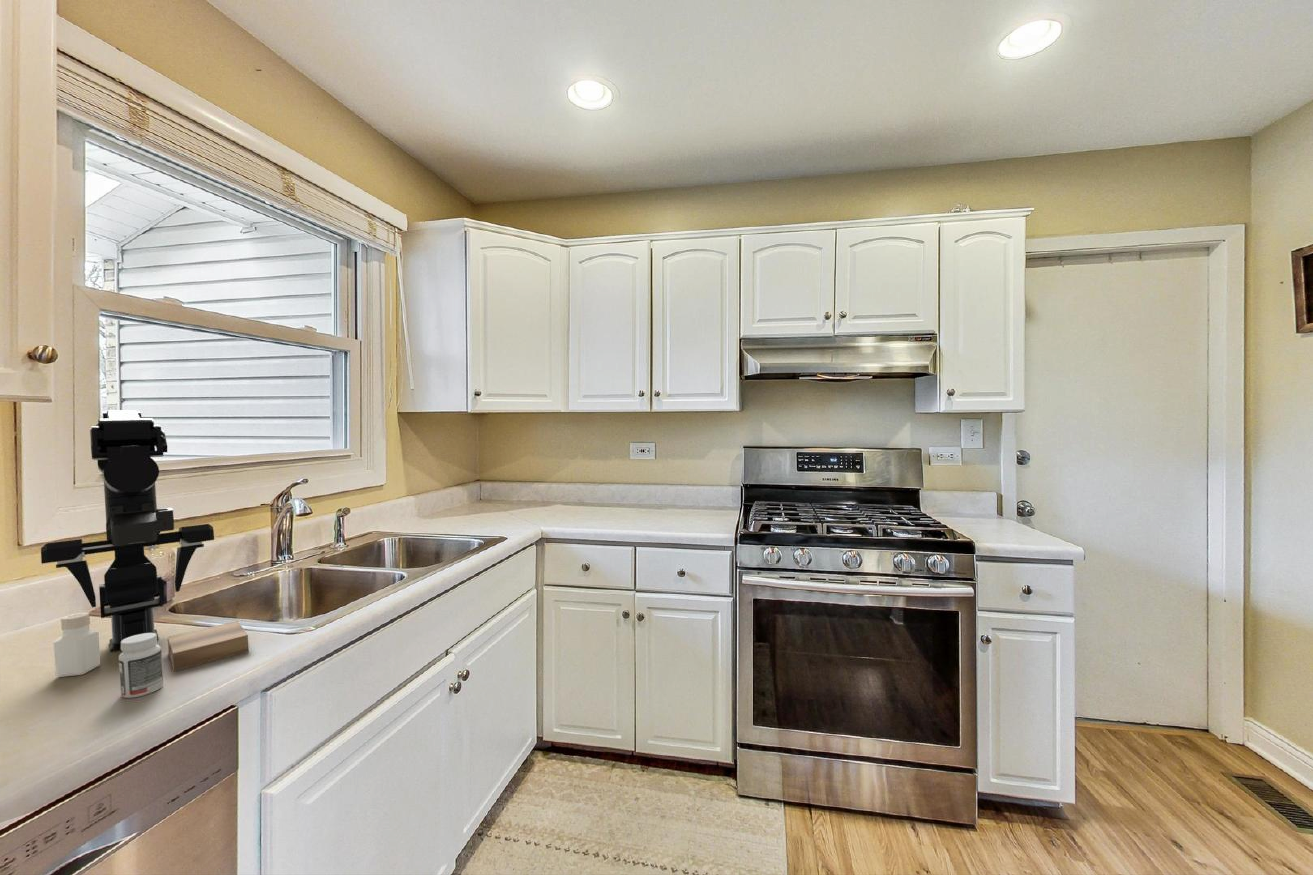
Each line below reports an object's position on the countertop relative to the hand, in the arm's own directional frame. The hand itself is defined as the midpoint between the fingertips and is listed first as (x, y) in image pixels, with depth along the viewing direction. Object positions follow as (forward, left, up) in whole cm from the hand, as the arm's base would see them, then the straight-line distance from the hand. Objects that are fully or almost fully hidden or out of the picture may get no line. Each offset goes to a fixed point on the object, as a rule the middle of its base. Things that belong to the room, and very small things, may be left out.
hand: (137, 598), depth 82 cm
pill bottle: (0, 0, -15) cm, 15 cm away
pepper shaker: (-17, -7, -15) cm, 23 cm away
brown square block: (-10, +9, -14) cm, 20 cm away
